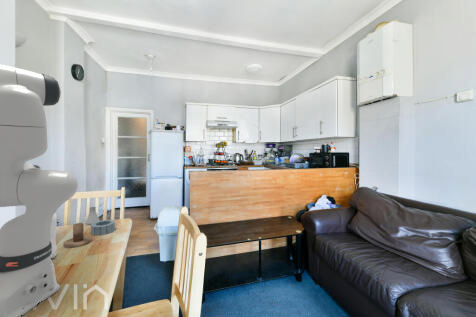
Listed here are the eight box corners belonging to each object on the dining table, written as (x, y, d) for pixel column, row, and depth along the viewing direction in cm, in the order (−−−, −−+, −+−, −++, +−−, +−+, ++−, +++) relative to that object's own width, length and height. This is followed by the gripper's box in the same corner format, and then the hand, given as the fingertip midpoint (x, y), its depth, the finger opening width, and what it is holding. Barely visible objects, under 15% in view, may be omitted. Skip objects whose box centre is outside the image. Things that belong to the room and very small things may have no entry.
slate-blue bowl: (108, 235, 108) (108, 226, 107) (86, 235, 106) (86, 227, 106) (118, 227, 118) (118, 219, 118) (98, 227, 117) (98, 219, 117)
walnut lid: (82, 247, 93) (82, 228, 93) (57, 248, 92) (57, 228, 92) (97, 237, 104) (97, 220, 104) (74, 238, 103) (74, 220, 103)
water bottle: (45, 264, 79) (45, 201, 78) (27, 263, 79) (27, 201, 78) (61, 255, 86) (61, 197, 86) (45, 254, 87) (45, 197, 86)
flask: (92, 225, 120) (92, 209, 119) (82, 224, 121) (82, 208, 121) (102, 221, 127) (102, 206, 126) (93, 220, 128) (93, 205, 128)
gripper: (7, 169, 81) (37, 192, 84) (41, 165, 101) (64, 184, 104) (-7, 180, 80) (24, 203, 83) (30, 174, 100) (54, 193, 103)
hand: (47, 192), depth 94 cm, fingers open, 8 cm apart
